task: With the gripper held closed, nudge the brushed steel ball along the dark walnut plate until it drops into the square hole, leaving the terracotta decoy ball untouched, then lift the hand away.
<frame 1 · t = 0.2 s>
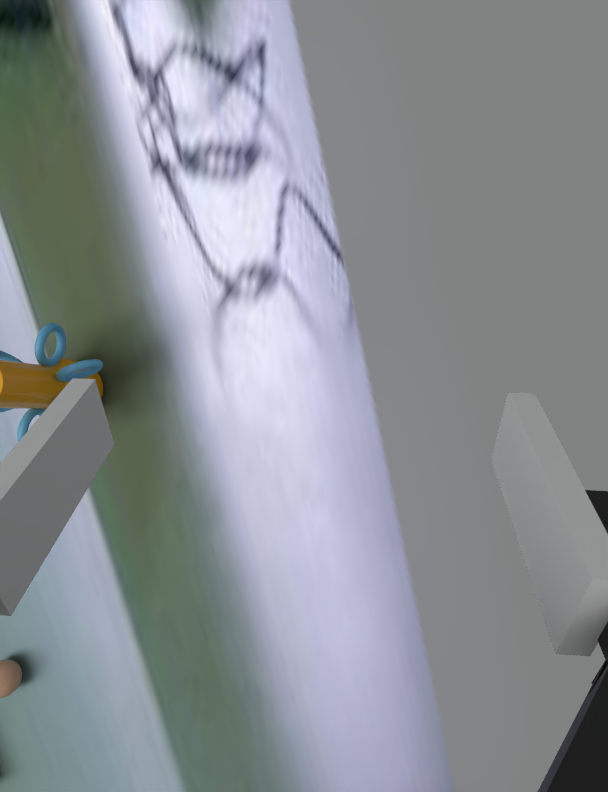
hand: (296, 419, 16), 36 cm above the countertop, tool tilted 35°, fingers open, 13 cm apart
decoy ball: (2, 678, 52), point 2 cm above the countertop
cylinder: (78, 389, 54), on the countertop
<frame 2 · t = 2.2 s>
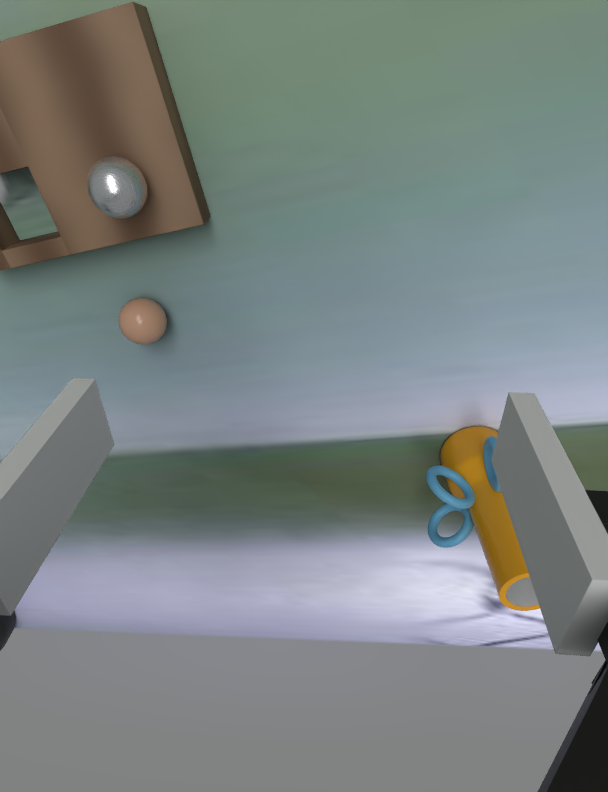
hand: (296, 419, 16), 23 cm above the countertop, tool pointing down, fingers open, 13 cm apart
steel ball: (117, 188, 31), point 4 cm above the countertop, touching hole plate
decoy ball: (143, 321, 38), point 2 cm above the countertop
hole plate: (64, 151, 34), on the countertop
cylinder: (471, 449, 47), on the countertop
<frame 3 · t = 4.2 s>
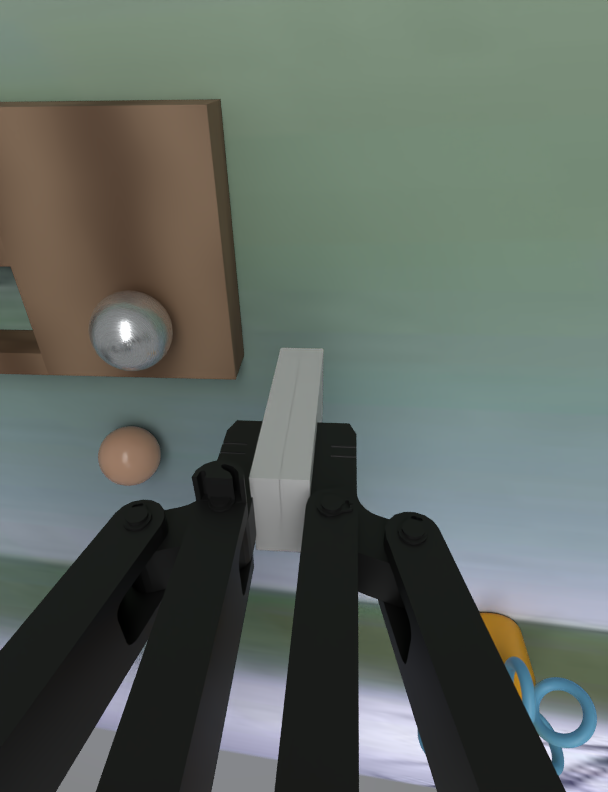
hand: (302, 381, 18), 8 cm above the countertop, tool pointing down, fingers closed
steel ball: (131, 331, 22), point 4 cm above the countertop, touching hole plate
decoy ball: (130, 455, 30), point 2 cm above the countertop
hole plate: (66, 243, 25), on the countertop
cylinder: (479, 629, 41), on the countertop
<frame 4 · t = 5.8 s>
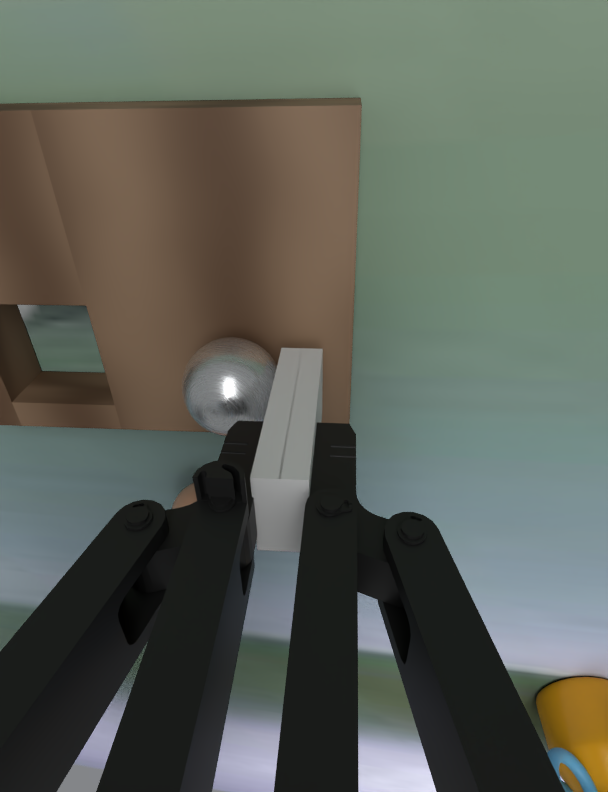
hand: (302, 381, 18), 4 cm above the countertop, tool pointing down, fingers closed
steel ball: (232, 386, 18), point 4 cm above the countertop, tilted 7°, touching gripper, hole plate
decoy ball: (206, 514, 26), point 2 cm above the countertop
hole plate: (147, 274, 20), on the countertop
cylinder: (577, 692, 36), on the countertop
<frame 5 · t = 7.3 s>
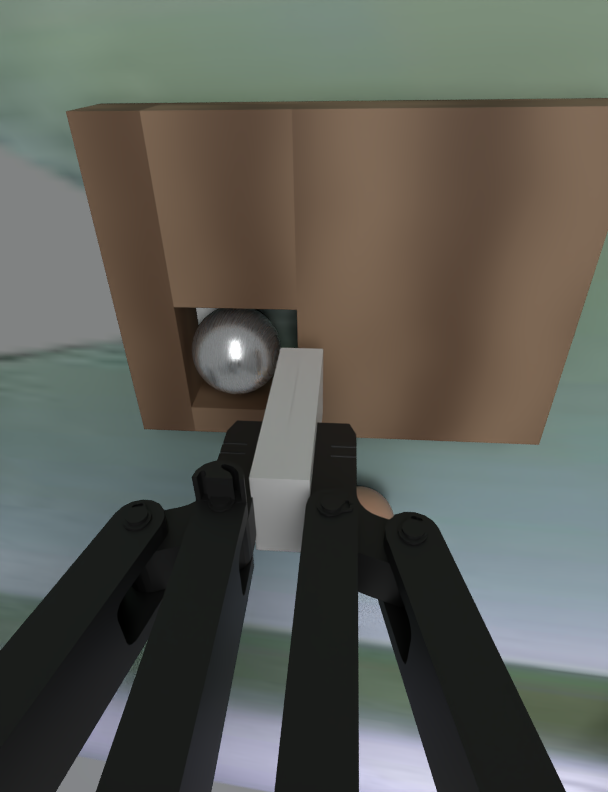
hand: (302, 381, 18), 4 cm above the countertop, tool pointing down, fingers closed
steel ball: (236, 350, 20), point 2 cm above the countertop, tilted 76°
decoy ball: (359, 521, 25), point 2 cm above the countertop
hole plate: (340, 277, 20), on the countertop
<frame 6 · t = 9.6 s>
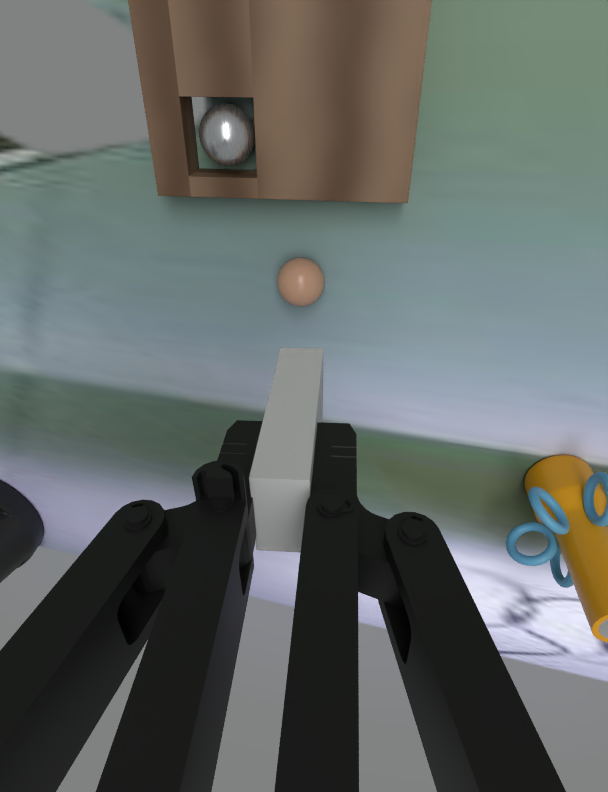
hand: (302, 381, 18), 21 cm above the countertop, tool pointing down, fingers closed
steel ball: (227, 135, 32), point 2 cm above the countertop, tilted 96°
decoy ball: (300, 282, 37), point 2 cm above the countertop
hole plate: (283, 89, 32), on the countertop
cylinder: (555, 475, 48), on the countertop
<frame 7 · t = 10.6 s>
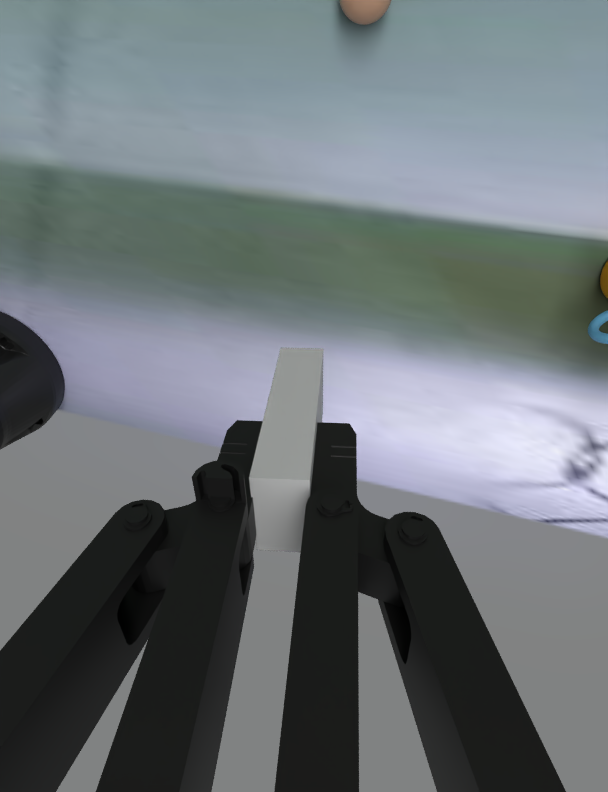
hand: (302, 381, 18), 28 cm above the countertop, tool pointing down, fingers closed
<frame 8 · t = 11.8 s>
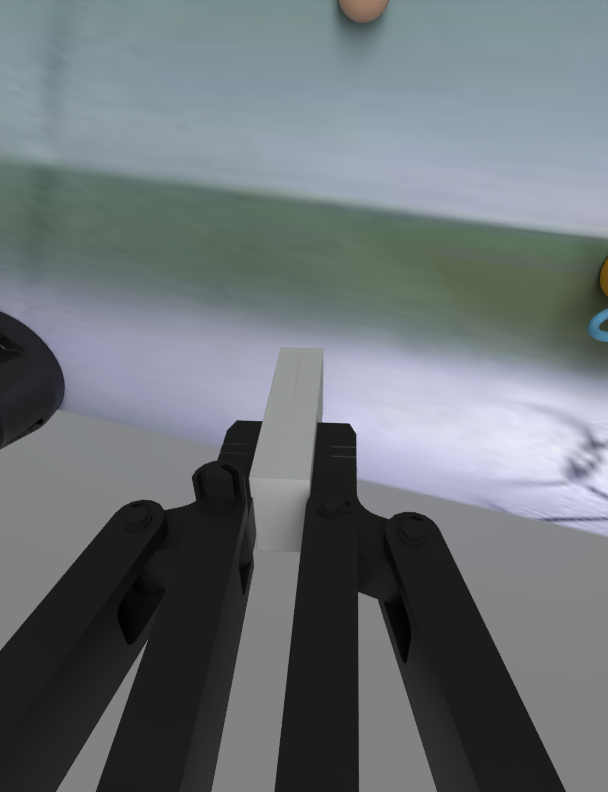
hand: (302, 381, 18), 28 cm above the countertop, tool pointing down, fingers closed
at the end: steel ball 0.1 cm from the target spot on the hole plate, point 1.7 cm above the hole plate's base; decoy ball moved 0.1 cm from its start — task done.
